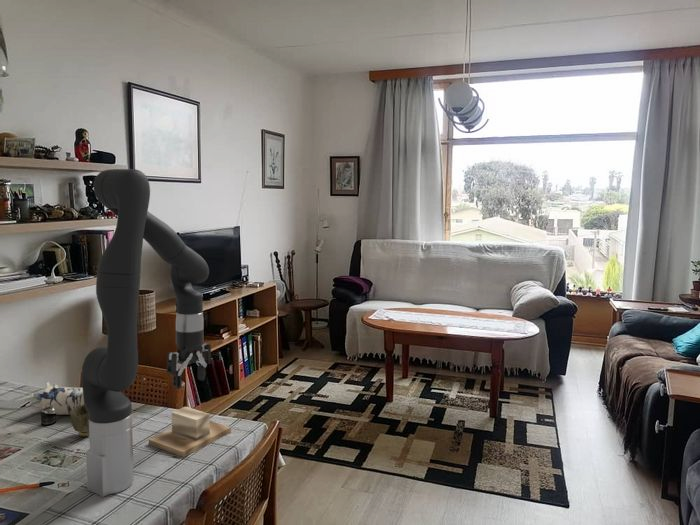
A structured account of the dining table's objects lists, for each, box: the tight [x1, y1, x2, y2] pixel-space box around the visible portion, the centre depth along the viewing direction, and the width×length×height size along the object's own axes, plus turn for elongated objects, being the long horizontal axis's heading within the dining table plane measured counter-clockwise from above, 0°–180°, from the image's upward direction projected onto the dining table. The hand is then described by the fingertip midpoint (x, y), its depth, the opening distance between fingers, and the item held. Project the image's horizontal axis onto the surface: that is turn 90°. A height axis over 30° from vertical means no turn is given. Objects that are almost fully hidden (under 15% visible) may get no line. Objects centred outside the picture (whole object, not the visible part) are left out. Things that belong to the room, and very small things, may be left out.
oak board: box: [148, 420, 232, 458], centre depth 145 cm, size 18×14×2 cm
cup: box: [69, 404, 89, 438], centre depth 145 cm, size 8×7×8 cm
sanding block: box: [171, 406, 211, 441], centre depth 144 cm, size 5×10×6 cm, turn 60°
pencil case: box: [36, 382, 84, 416], centre depth 160 cm, size 22×8×10 cm, turn 93°
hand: (189, 383), depth 143 cm, fingers open, 8 cm apart
